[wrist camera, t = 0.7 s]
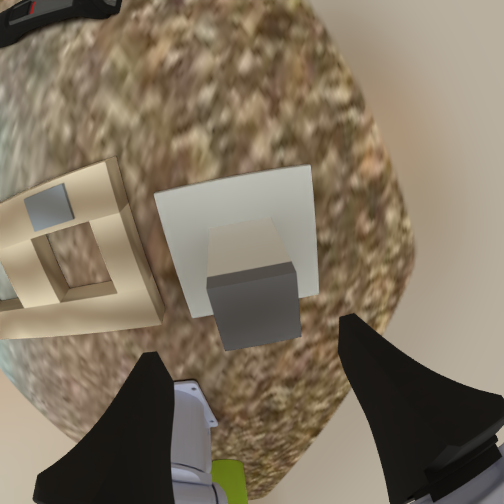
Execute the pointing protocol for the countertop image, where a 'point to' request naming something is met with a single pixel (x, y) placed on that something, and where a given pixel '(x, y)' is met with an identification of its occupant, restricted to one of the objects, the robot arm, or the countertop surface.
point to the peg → (252, 285)
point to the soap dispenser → (230, 479)
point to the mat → (234, 211)
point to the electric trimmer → (49, 15)
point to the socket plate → (48, 271)
